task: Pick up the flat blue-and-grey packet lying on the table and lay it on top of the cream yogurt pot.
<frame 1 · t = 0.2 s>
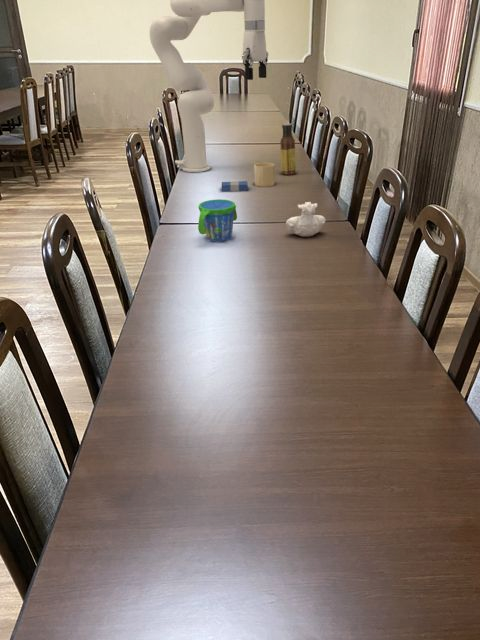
hand: (256, 78, 207), 37 cm above the table, tool pointing down, fingers open, 9 cm apart
snack cup: (219, 238, 160), on the table
yogurt: (264, 184, 215), on the table
sauce bottle: (288, 174, 230), on the table
packet: (234, 189, 209), on the table
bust: (306, 235, 161), on the table
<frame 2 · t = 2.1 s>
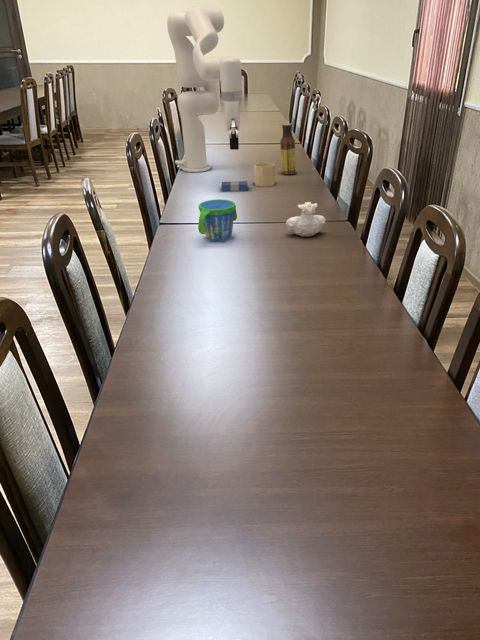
hand: (234, 147, 201), 16 cm above the table, tool pointing down, fingers open, 9 cm apart
nothing on the table moved.
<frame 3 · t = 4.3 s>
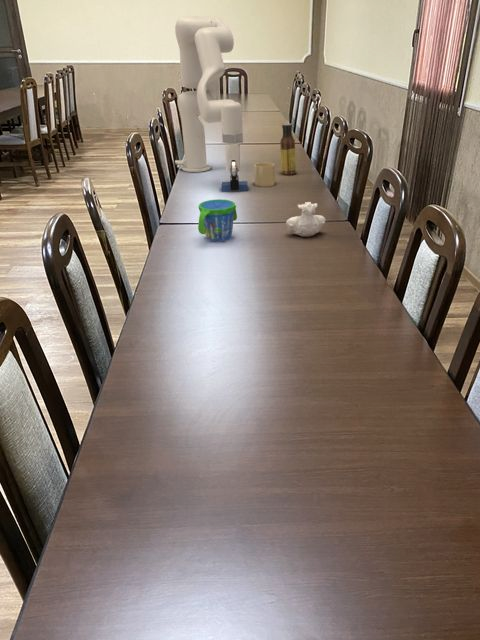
hand: (234, 187, 209), 1 cm above the table, tool pointing down, fingers closed on packet, 5 cm apart
packet: (234, 189, 209), on the table, touching gripper
everything else where it was.
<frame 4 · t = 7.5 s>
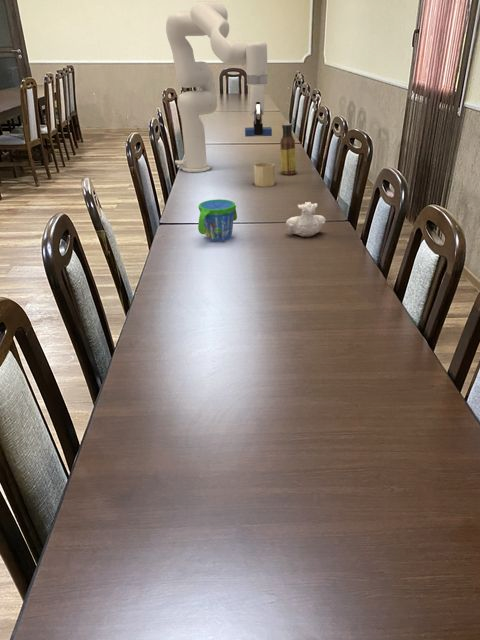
hand: (258, 133, 204), 19 cm above the table, tool pointing down, fingers closed on packet, 5 cm apart
packet: (258, 135, 205), point 19 cm above the table, touching gripper
everything else where it was.
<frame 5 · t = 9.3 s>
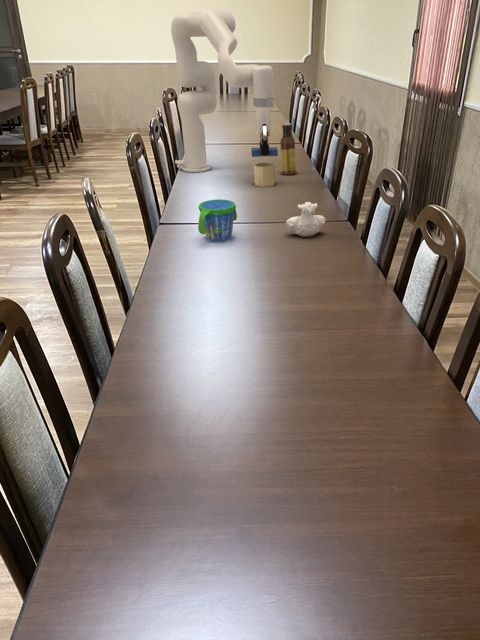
hand: (264, 153, 209), 12 cm above the table, tool pointing down, fingers closed on packet, 5 cm apart
packet: (264, 155, 210), point 11 cm above the table, touching gripper
everything else where it was.
when the fingers open (8 cm above the table, at t = 10.7 s): packet stays where it is, resting on yogurt.
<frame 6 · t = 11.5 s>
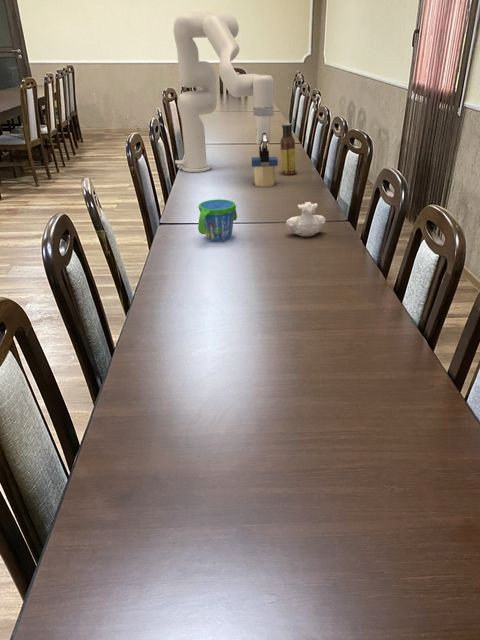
hand: (264, 159, 210), 10 cm above the table, tool pointing down, fingers open, 9 cm apart
yogurt: (264, 184, 215), on the table, touching packet
packet: (264, 164, 211), point 7 cm above the table, touching yogurt
everything else where it was.
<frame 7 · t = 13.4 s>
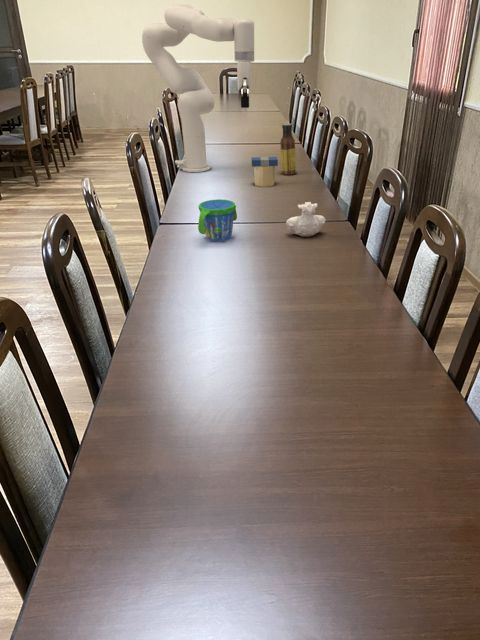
hand: (244, 105, 214), 27 cm above the table, tool pointing down, fingers open, 9 cm apart
nothing on the table moved.
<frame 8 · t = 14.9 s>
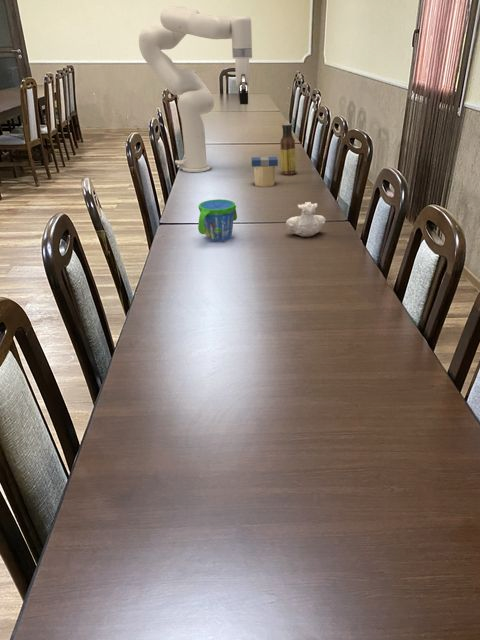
hand: (243, 102, 214), 28 cm above the table, tool pointing down, fingers open, 9 cm apart
nothing on the table moved.
at the end: packet 0.1 cm off-centre on the yogurt, point 7.5 cm above the yogurt's base; packet tilted 0°; yogurt tilted 0° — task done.
